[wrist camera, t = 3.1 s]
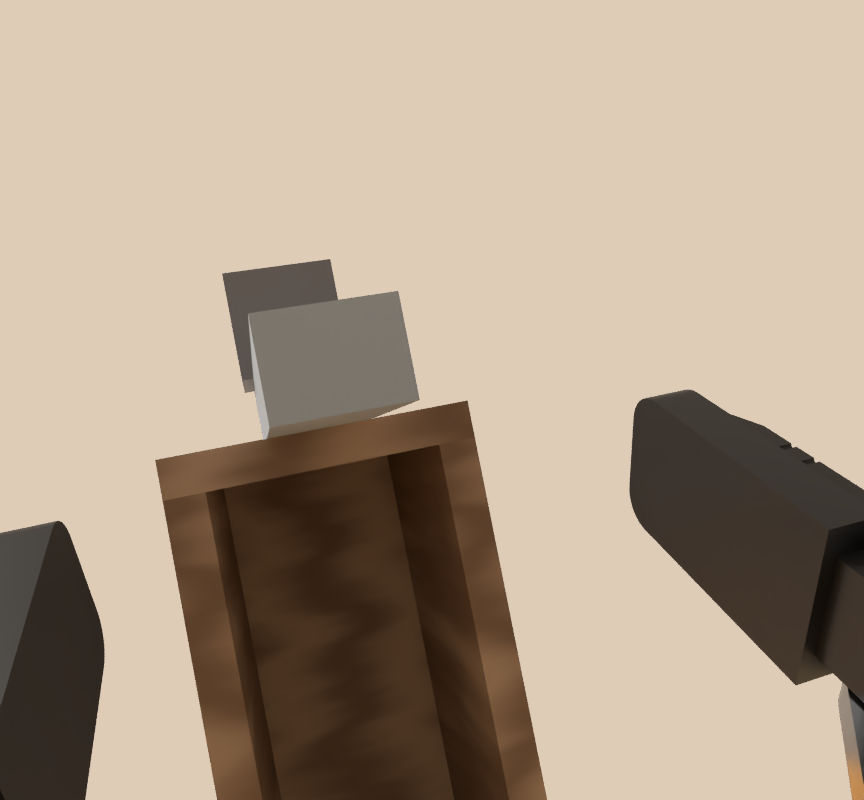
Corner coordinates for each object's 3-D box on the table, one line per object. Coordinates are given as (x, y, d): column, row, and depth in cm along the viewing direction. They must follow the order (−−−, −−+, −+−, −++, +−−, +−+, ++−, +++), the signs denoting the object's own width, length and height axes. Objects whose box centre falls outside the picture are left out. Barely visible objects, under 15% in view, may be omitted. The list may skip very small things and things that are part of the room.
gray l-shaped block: (249, 431, 18) (192, 127, 19) (255, 448, 40) (228, 305, 40) (437, 396, 20) (381, 111, 20) (345, 430, 41) (318, 292, 41)
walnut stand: (310, 1311, 25) (155, 460, 26) (293, 1013, 39) (191, 460, 40) (619, 1161, 28) (467, 400, 29) (502, 933, 42) (401, 420, 43)
